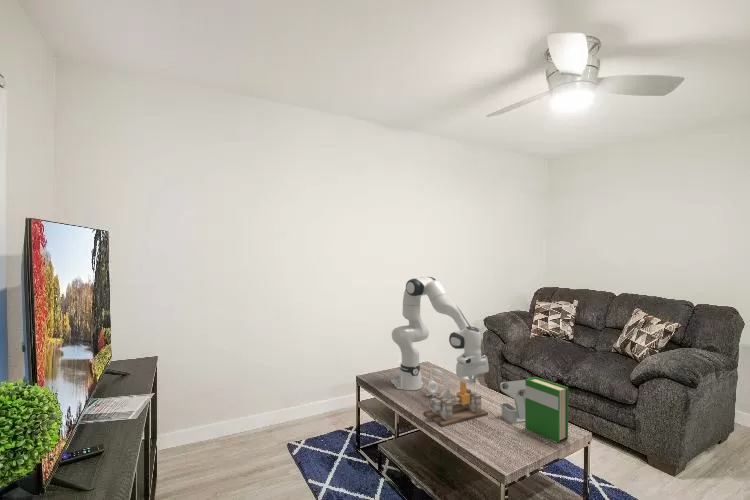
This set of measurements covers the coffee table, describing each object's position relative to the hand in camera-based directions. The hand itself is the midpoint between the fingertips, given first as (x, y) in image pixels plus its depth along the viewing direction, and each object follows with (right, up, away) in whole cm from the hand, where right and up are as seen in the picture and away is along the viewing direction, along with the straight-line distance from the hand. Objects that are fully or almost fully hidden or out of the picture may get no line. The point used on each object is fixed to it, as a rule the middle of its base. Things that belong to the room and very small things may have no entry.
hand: (472, 382), depth 211 cm
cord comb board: (-10, -15, -5) cm, 19 cm away
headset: (-16, -15, +13) cm, 26 cm away
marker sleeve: (-6, -10, -3) cm, 12 cm away
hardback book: (+28, -16, -26) cm, 41 cm away
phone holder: (+22, -16, -9) cm, 28 cm away
